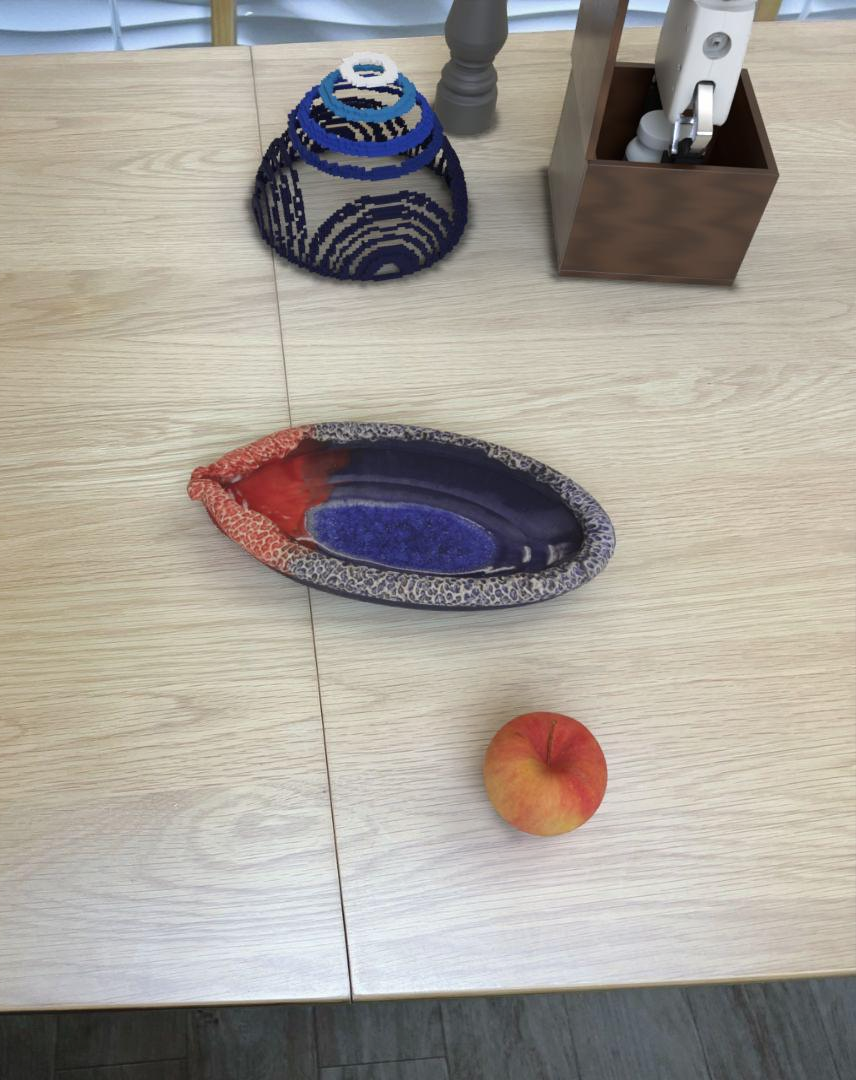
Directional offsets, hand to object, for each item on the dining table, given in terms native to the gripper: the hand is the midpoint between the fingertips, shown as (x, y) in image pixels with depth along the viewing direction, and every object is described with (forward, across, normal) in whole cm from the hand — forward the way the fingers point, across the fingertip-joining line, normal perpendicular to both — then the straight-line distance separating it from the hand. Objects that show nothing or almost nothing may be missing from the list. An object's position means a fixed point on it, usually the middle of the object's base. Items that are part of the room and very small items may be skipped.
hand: (664, 159), depth 97 cm
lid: (-13, 0, +8) cm, 15 cm away
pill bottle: (+7, 0, +1) cm, 7 cm away
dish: (+7, -38, +23) cm, 45 cm away
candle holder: (+7, +16, +17) cm, 24 cm away
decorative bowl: (+7, 0, +27) cm, 28 cm away
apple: (+7, -58, +14) cm, 60 cm away
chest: (+7, 0, +1) cm, 7 cm away
